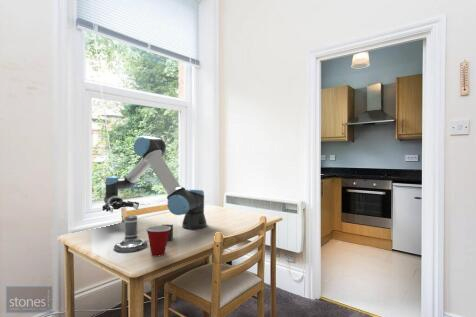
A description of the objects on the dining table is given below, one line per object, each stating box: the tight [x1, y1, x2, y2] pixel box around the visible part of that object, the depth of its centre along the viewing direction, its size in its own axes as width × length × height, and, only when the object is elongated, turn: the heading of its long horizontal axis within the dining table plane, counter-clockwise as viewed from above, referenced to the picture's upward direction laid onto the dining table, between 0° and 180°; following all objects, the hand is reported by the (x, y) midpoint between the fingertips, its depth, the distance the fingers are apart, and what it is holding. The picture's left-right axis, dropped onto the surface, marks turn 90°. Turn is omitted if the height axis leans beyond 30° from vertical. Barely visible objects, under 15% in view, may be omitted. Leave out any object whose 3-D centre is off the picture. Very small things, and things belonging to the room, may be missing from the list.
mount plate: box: [113, 238, 148, 253], centre depth 125 cm, size 15×15×2 cm
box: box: [160, 224, 174, 242], centre depth 136 cm, size 6×6×7 cm
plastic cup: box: [145, 225, 171, 257], centre depth 117 cm, size 11×11×12 cm
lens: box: [124, 215, 138, 240], centre depth 139 cm, size 6×6×11 cm
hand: (125, 208), depth 147 cm, fingers open, 13 cm apart
